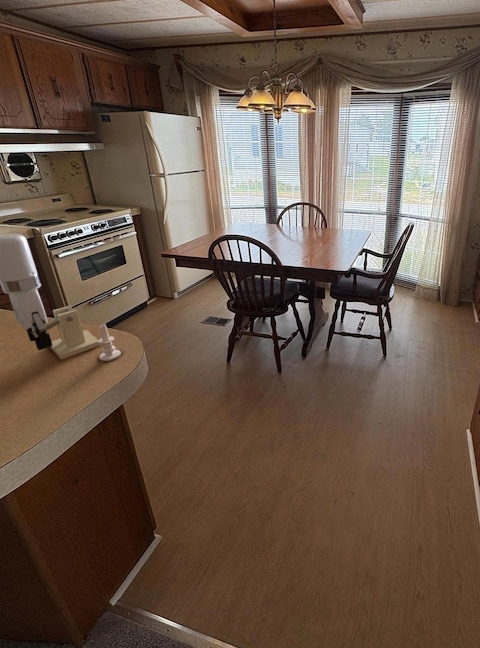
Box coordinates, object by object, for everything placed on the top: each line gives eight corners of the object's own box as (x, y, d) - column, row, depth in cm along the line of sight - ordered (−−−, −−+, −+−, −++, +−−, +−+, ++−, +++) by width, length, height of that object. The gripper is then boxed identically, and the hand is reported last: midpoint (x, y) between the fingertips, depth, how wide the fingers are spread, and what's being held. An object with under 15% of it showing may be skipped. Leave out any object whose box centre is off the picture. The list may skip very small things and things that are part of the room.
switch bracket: (61, 359, 94) (49, 322, 90) (49, 346, 100) (37, 310, 96) (100, 345, 102) (91, 309, 97) (87, 334, 107) (78, 300, 103)
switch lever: (40, 342, 91) (34, 336, 90) (33, 335, 95) (27, 329, 93) (77, 319, 97) (72, 313, 95) (70, 312, 100) (65, 306, 99)
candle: (105, 363, 94) (97, 330, 90) (95, 357, 96) (87, 324, 92) (124, 354, 98) (117, 322, 94) (114, 348, 100) (106, 317, 96)
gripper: (-7, 278, 89) (15, 338, 96) (10, 296, 80) (34, 361, 86) (29, 271, 95) (47, 328, 102) (49, 287, 85) (68, 349, 92)
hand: (41, 342), depth 94 cm, fingers closed on switch lever, 6 cm apart
